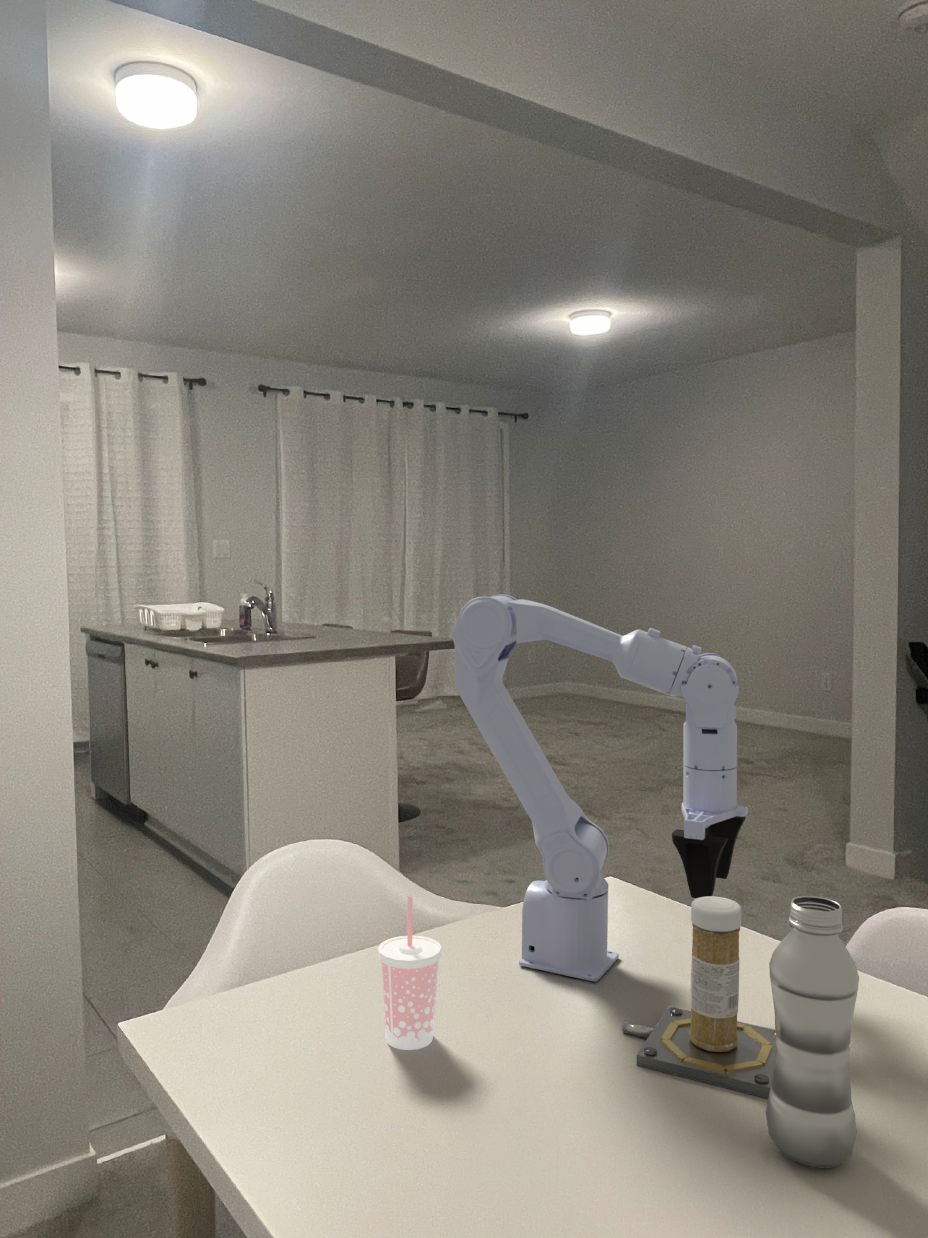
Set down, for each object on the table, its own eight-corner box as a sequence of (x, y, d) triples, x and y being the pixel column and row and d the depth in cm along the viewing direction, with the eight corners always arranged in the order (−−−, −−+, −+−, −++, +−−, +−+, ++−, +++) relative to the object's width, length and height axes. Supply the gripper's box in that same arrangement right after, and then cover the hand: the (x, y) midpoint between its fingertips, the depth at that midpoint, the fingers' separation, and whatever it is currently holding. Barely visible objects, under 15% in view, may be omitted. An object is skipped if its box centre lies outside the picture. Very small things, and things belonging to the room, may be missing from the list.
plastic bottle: (847, 1192, 71) (855, 926, 70) (754, 1161, 75) (761, 908, 73) (862, 1147, 76) (870, 900, 75) (775, 1120, 80) (782, 884, 79)
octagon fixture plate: (605, 1057, 90) (605, 1045, 90) (640, 1009, 100) (640, 998, 100) (771, 1099, 83) (771, 1086, 83) (791, 1043, 93) (791, 1031, 93)
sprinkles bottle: (710, 1026, 94) (714, 891, 93) (748, 1046, 90) (752, 905, 90) (678, 1039, 91) (681, 900, 91) (715, 1060, 88) (718, 915, 87)
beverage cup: (454, 1037, 94) (455, 896, 93) (408, 1061, 89) (409, 913, 88) (410, 1017, 98) (410, 881, 97) (364, 1038, 93) (364, 896, 92)
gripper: (732, 782, 97) (732, 914, 98) (759, 756, 110) (759, 873, 111) (664, 776, 101) (664, 903, 101) (698, 751, 114) (698, 865, 114)
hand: (709, 887), depth 106 cm, fingers open, 7 cm apart
